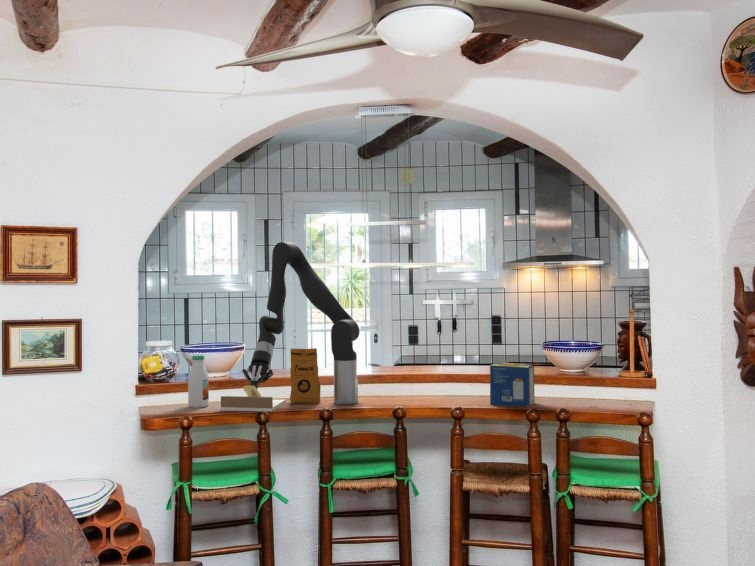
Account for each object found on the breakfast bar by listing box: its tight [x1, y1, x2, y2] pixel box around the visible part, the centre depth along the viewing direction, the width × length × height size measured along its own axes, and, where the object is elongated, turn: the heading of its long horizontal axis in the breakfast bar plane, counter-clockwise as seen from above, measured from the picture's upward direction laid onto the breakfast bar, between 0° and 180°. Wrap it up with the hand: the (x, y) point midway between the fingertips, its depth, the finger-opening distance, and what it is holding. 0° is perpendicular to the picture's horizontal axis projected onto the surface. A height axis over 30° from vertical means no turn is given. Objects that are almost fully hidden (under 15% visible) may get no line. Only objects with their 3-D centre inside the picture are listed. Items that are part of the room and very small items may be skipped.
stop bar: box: [243, 385, 262, 397], centre depth 255 cm, size 4×2×11 cm
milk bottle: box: [187, 354, 210, 409], centre depth 257 cm, size 8×8×20 cm
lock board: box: [220, 395, 286, 412], centre depth 255 cm, size 20×18×5 cm
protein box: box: [489, 361, 536, 407], centre depth 258 cm, size 10×15×16 cm
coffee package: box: [289, 347, 321, 405], centre depth 263 cm, size 10×12×22 cm
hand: (252, 390), depth 254 cm, fingers closed
